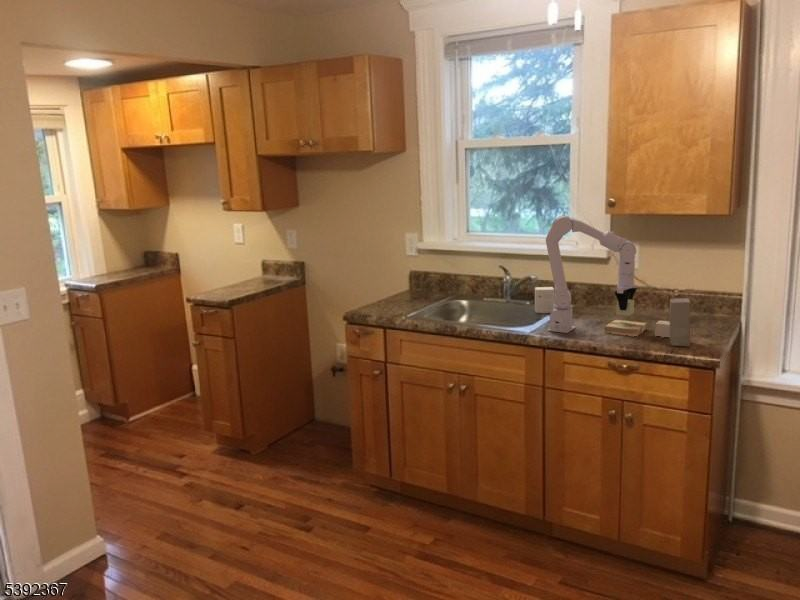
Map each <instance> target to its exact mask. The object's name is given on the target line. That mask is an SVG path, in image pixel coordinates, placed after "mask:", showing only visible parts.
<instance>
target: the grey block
mask: <svg viewBox="0 0 800 600" xmlns="http://www.w3.org/2000/svg"><path fill="white" fill-rule="evenodd" d="M654 326H655V328H654V329H655V331H654V337H656V336H661V337H660V338H664V337H670V321H667V320H658V321H657V322H655V325H654Z"/></svg>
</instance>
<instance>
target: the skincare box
mask: <svg viewBox="0 0 800 600" xmlns="http://www.w3.org/2000/svg"><path fill="white" fill-rule="evenodd" d="M690 312H691V300H690V298H686V297H683V298H670V299H669V314H668V315H669V322H670V338H669V343H670V346H673V347H688V348H690V346H691V317H690V316H691V313H690Z"/></svg>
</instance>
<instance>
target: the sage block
mask: <svg viewBox="0 0 800 600" xmlns="http://www.w3.org/2000/svg"><path fill="white" fill-rule="evenodd" d="M615 309H616V315H620V316H627V317H628V316H632V314H635V299H632V300H630V299H628V303H627V308H626V310H620V308H619V303H618V300H617V301H616V308H615Z"/></svg>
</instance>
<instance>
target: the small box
mask: <svg viewBox="0 0 800 600" xmlns="http://www.w3.org/2000/svg"><path fill="white" fill-rule="evenodd" d="M554 304H555V287H554V286H537V287H534V311H535V313H536V314H548V313H549V314H551V313H552V312H553V305H554Z"/></svg>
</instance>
